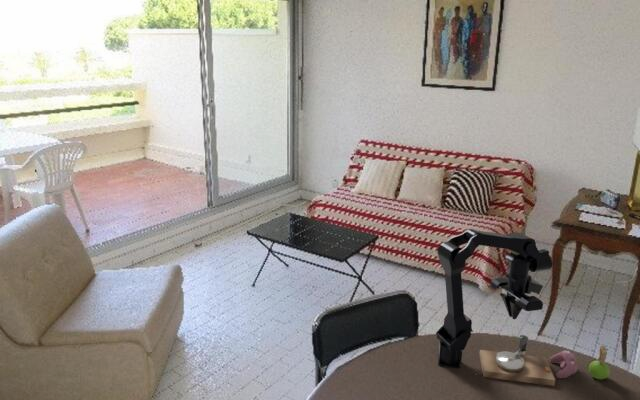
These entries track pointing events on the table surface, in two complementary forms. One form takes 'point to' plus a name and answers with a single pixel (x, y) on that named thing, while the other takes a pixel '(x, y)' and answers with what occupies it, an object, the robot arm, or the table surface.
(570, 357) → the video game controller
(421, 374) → the table surface
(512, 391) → the table surface
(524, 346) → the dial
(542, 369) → the stand
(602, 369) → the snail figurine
